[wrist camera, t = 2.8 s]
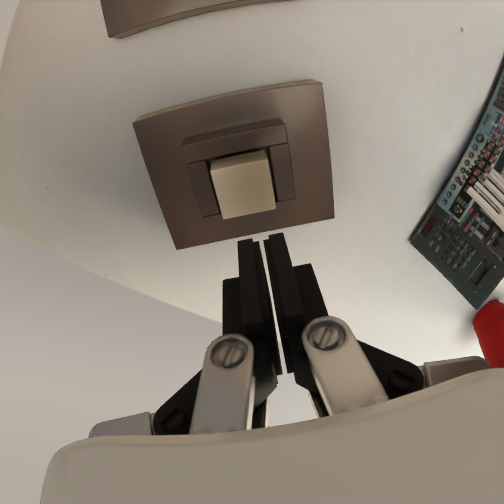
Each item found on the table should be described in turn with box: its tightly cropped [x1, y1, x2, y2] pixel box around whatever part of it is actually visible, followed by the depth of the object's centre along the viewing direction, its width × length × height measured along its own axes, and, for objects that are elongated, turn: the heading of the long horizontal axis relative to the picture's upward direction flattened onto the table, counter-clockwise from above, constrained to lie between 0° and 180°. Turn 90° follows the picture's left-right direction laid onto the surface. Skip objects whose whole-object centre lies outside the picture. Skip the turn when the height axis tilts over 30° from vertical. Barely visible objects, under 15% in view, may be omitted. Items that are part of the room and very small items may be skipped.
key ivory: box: [210, 150, 276, 219], centre depth 18 cm, size 3×3×2 cm
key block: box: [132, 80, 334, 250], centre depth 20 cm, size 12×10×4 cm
